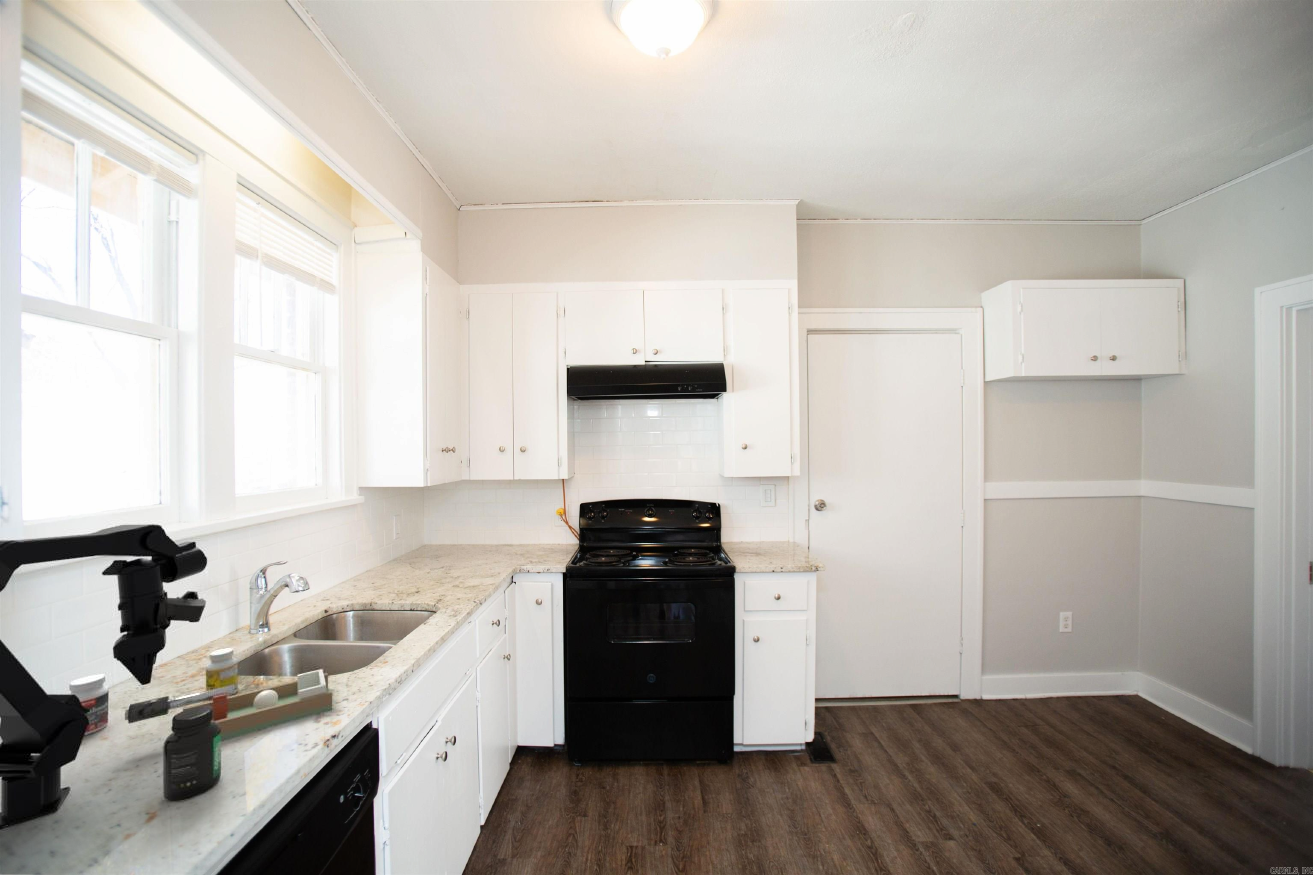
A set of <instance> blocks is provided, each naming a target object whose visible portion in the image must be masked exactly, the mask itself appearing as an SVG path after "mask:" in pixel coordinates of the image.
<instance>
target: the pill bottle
mask: <svg viewBox="0 0 1313 875" xmlns="http://www.w3.org/2000/svg"><path fill="white" fill-rule="evenodd" d="M105 682H106V675H105V674H103V673H102V674H100V673H99V674H92V675H88V676H83V677H80V678H78V679H74V680H72V681H71V682H70V683H69V684H68V685H69V687H68V688H69V691H70V693H69V694H74V695H76V696H77V697H78V698H79V700H80V702H81V704H82V706H83V707H84V708H86V709H89V710H90V712H88V713H86V715H87V716H88V718H89V723H90V724H89V726H87V729H86V732H85V734H84V736H88V735H91V734H93V733H96V732H98V731H100V730H102V729H104V728H105V727H107V725H108V724H109V723H108V722H109V700H110V698H109V687H108V686H107V685H104V683H105Z"/></svg>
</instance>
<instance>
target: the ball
mask: <svg viewBox="0 0 1313 875" xmlns="http://www.w3.org/2000/svg"><path fill="white" fill-rule="evenodd" d="M277 701H278V695H277V693H276V692H275V691H273V690H265V691H262V692H261V693H259V694H258V695H257V696H256V698H255V699H254V703H253V705H254V708H255V709H256V710H260V709H263V708H267V707H271V706H275V705H276V703H277Z"/></svg>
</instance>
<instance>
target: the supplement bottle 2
mask: <svg viewBox="0 0 1313 875" xmlns="http://www.w3.org/2000/svg"><path fill="white" fill-rule="evenodd" d="M234 655H235V654H234V648H232V647H231V648H230V647H229V648H227V647H226V648H221V649H217V650H214V651H212V652H211V653H209V660H210V662H208V664H207V665H206V667H205V691H209V690H213V689H217V688H222V687H226V686H230V685H234V694H236V692H238V687H239V685H238V681H239V680H238V659H237V658H236V657H233V656H234ZM229 696H232V695H229ZM229 696H228V697H229ZM211 701H213V699H212V700H211Z"/></svg>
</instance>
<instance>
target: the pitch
mask: <svg viewBox="0 0 1313 875" xmlns="http://www.w3.org/2000/svg"><path fill="white" fill-rule="evenodd" d="M323 674H324V678H325V683H326V692H325V693H321V694H317V695H313V696H310V697H306V698H302V699H299V694H298V693H297V680H292V681H291V680H290V681H289V682H284V683H283V682H282V683H281V684H280V683H279V684H274V685H271V686H267V687H263V688H260V689H255V690H251V691H246V692H243V693H238V694H233V695H231V696H228V718H225V719H221V720H217V721H214V722H216V723H218V724H219V725H220V727H221V741H224V740H227V739H232V738H235V737H238V736H242V735H246V734H248V733H252V732H253V733H254V732H256V731H261V730H264V729H268V728H271V727H274V726H278V725H282V724H285V723H288V722H293V721H296V720H300V719H304V718H307V717H310V716H314V715H317V714H321V713H325V712H329V711H332V710H333V690H329V675H328V672H326V673H323ZM265 690H273V691H275V692H276V693H277V695H278V701H277V703H276V705H275V706H271V707H267V708H263V709H260V710H256V709H255V708H254V705H253V703H254V699H255V698H256V696H257V695H258V694H259V693H261V692H262V691H265ZM198 706H212V708H213V700H208V701H204V702H200V703H196V704H192V705H187V706H183V707H182V711H184V710H187V709H190V708H194V707H198ZM212 721H213V720H212Z"/></svg>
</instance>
